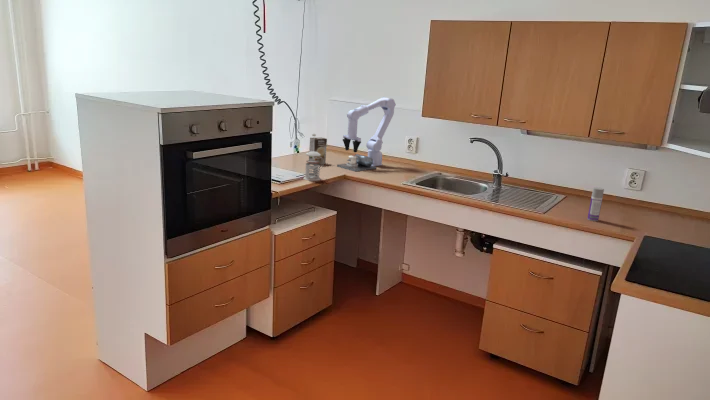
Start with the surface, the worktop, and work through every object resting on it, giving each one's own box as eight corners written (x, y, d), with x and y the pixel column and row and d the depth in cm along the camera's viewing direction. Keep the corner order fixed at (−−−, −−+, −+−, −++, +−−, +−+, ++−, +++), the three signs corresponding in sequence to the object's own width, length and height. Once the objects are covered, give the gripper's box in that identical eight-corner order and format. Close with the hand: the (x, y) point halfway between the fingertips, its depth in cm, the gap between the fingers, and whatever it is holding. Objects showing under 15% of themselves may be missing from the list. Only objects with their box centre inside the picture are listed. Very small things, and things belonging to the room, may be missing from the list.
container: (589, 217, 246) (594, 186, 242) (599, 219, 243) (605, 188, 239) (586, 219, 242) (591, 188, 238) (596, 221, 239) (602, 190, 235)
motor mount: (357, 164, 339) (358, 153, 337) (376, 168, 327) (377, 157, 325) (336, 166, 327) (337, 155, 325) (355, 171, 315) (356, 159, 313)
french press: (299, 177, 290) (301, 132, 283) (317, 175, 297) (319, 132, 290) (309, 181, 282) (311, 135, 276) (327, 179, 289) (329, 134, 283)
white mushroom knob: (352, 164, 329) (353, 155, 327) (358, 166, 325) (359, 156, 323) (344, 165, 324) (344, 156, 322) (350, 167, 320) (350, 157, 319)
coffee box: (314, 164, 328) (315, 139, 324) (308, 162, 332) (309, 137, 328) (325, 163, 333) (327, 138, 329) (320, 161, 338) (321, 137, 334)
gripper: (339, 128, 328) (338, 149, 331) (355, 131, 317) (354, 153, 321) (348, 127, 332) (347, 149, 336) (364, 131, 322) (362, 152, 326)
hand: (351, 151), depth 329 cm, fingers open, 7 cm apart
